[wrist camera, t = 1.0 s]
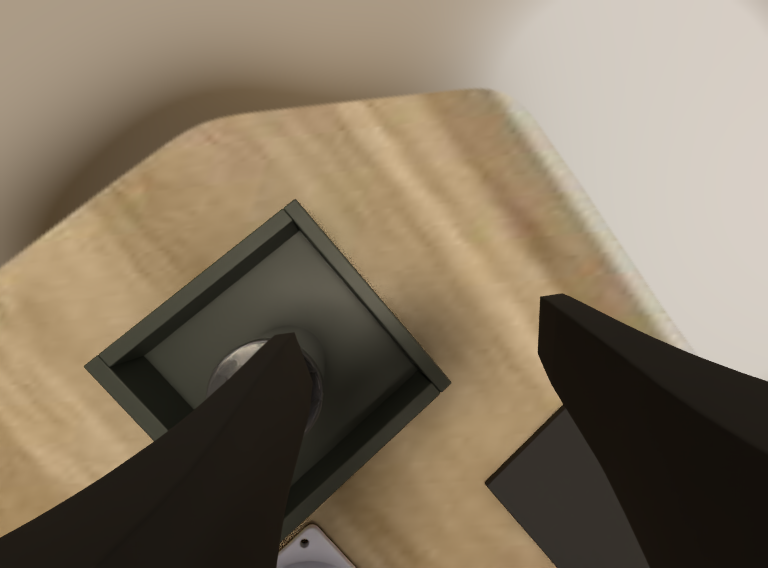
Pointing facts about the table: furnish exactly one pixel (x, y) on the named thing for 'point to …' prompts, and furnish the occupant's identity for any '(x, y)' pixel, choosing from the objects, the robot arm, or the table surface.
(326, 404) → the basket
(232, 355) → the spice tin
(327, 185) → the table surface
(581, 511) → the mat
